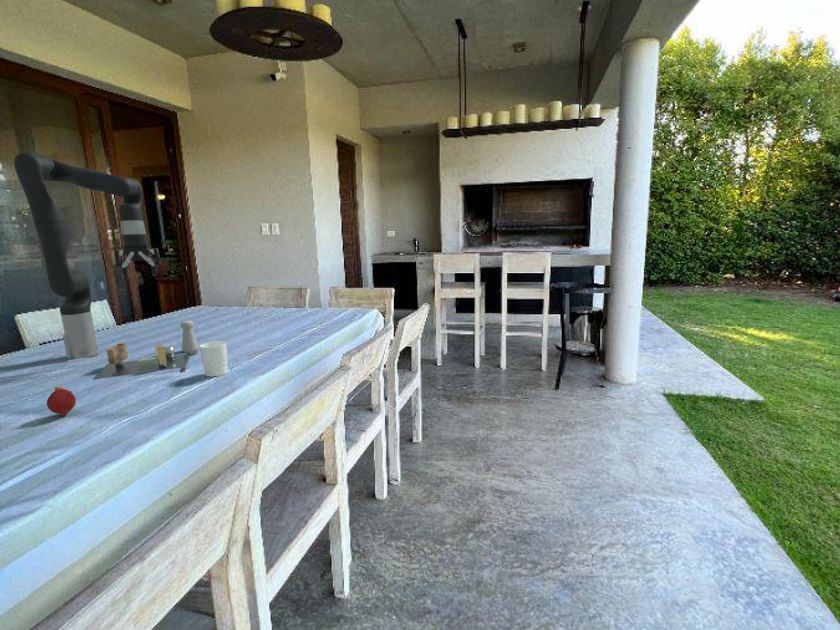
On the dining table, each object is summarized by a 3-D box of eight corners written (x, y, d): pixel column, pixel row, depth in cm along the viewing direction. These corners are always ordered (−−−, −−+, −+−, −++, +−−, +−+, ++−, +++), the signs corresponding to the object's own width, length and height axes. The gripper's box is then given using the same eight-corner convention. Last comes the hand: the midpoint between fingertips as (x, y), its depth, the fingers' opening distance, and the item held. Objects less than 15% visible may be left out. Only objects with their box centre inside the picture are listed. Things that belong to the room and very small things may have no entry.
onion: (60, 411, 118) (54, 383, 117) (83, 409, 119) (77, 381, 117) (44, 420, 113) (38, 391, 111) (68, 419, 113) (62, 389, 112)
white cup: (234, 370, 148) (231, 341, 146) (217, 378, 141) (213, 348, 139) (216, 369, 150) (212, 340, 148) (198, 376, 143) (193, 346, 141)
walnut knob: (116, 369, 148) (113, 348, 147) (109, 369, 148) (105, 348, 147) (129, 362, 155) (125, 342, 154) (122, 363, 155) (118, 343, 154)
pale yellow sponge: (157, 364, 152) (153, 344, 150) (164, 363, 153) (161, 342, 152) (160, 369, 146) (156, 348, 145) (168, 367, 148) (165, 346, 146)
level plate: (93, 384, 139) (89, 367, 138) (107, 368, 156) (105, 353, 155) (185, 371, 149) (182, 355, 148) (190, 357, 165) (187, 343, 164)
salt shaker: (192, 356, 167) (187, 323, 164) (179, 356, 168) (174, 322, 165) (202, 352, 172) (198, 319, 170) (189, 351, 173) (185, 319, 171)
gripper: (157, 232, 170) (163, 274, 173) (113, 234, 164) (121, 277, 168) (154, 232, 163) (161, 276, 166) (108, 234, 158) (116, 279, 161)
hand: (141, 276), depth 167 cm, fingers open, 8 cm apart
